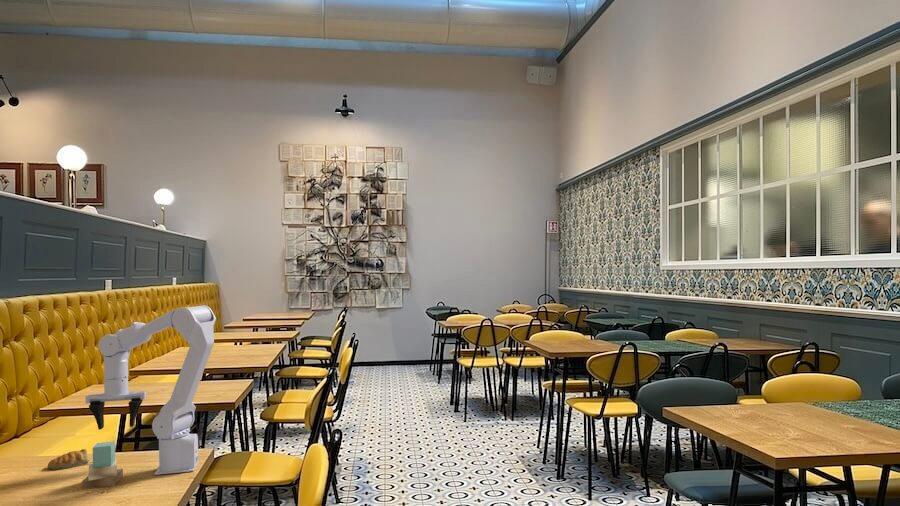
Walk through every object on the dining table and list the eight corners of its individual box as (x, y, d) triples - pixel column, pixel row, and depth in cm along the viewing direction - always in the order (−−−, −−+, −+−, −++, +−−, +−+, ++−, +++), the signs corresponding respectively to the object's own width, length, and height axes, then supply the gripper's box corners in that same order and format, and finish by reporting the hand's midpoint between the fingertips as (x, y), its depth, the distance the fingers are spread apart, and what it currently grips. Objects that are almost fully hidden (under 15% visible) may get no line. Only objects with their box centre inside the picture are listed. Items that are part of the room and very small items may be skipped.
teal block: (115, 460, 149) (115, 441, 149) (110, 466, 145) (110, 445, 145) (97, 462, 147) (97, 443, 147) (92, 467, 144) (92, 447, 144)
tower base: (122, 478, 150) (122, 468, 150) (113, 488, 143) (113, 478, 143) (92, 481, 148) (92, 471, 148) (82, 491, 141) (82, 481, 142)
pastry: (50, 473, 154) (50, 459, 154) (45, 467, 158) (45, 453, 159) (90, 464, 160) (90, 450, 160) (85, 459, 165) (84, 445, 165)
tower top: (116, 468, 150) (116, 459, 150) (116, 475, 145) (116, 465, 145) (89, 473, 147) (89, 463, 147) (88, 480, 142) (88, 470, 142)
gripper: (149, 373, 164) (149, 421, 164) (91, 376, 161) (92, 425, 160) (142, 377, 157) (142, 427, 157) (82, 381, 154) (82, 432, 154)
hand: (116, 427), depth 158 cm, fingers open, 7 cm apart
